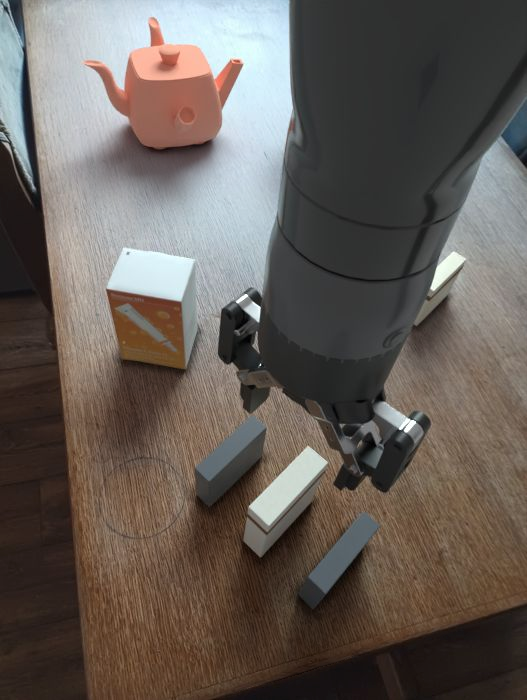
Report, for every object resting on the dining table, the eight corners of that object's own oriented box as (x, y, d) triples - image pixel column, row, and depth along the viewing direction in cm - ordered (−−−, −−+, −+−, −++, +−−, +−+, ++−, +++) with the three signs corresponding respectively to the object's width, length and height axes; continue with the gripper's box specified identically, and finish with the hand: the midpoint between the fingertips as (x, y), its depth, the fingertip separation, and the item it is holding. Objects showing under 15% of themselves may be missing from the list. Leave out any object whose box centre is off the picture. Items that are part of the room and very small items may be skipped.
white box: (312, 501, 57) (329, 462, 49) (260, 558, 53) (268, 527, 45) (295, 485, 58) (308, 444, 50) (242, 540, 54) (247, 506, 46)
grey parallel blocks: (363, 547, 55) (380, 525, 49) (313, 610, 51) (325, 594, 45) (249, 444, 60) (252, 414, 55) (196, 494, 57) (194, 467, 51)
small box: (121, 360, 65) (103, 288, 55) (136, 319, 69) (122, 245, 58) (187, 371, 65) (181, 301, 55) (198, 330, 69) (196, 257, 58)
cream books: (448, 294, 76) (467, 259, 70) (416, 326, 72) (434, 291, 66) (356, 235, 81) (367, 198, 76) (323, 262, 77) (331, 225, 72)
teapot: (96, 140, 90) (80, 55, 79) (157, 90, 100) (150, 8, 89) (192, 177, 86) (189, 94, 75) (245, 121, 96) (249, 40, 85)
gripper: (508, 332, 25) (408, 469, 39) (281, 187, 30) (261, 352, 44) (422, 436, 22) (344, 547, 35) (181, 253, 27) (192, 411, 40)
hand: (298, 439), depth 39 cm, fingers open, 8 cm apart
